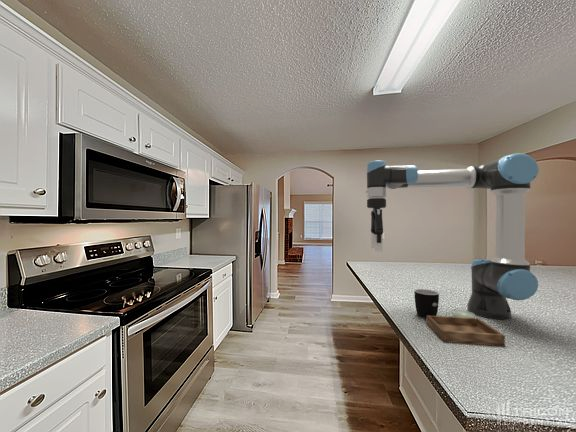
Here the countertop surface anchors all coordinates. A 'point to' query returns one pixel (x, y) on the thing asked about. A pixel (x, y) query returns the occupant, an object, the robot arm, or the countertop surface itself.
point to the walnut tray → (464, 330)
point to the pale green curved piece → (463, 314)
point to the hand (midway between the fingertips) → (376, 249)
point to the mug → (426, 302)
